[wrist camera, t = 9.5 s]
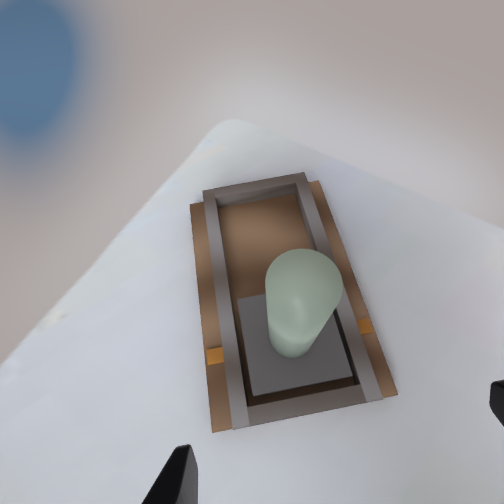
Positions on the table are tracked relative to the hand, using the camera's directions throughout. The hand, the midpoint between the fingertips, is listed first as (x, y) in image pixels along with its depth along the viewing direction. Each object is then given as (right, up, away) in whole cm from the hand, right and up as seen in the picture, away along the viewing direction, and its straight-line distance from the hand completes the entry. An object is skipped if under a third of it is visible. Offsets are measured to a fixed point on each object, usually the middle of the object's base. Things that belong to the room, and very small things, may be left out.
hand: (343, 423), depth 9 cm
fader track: (-1, +2, +15) cm, 15 cm away
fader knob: (0, -1, +12) cm, 12 cm away
